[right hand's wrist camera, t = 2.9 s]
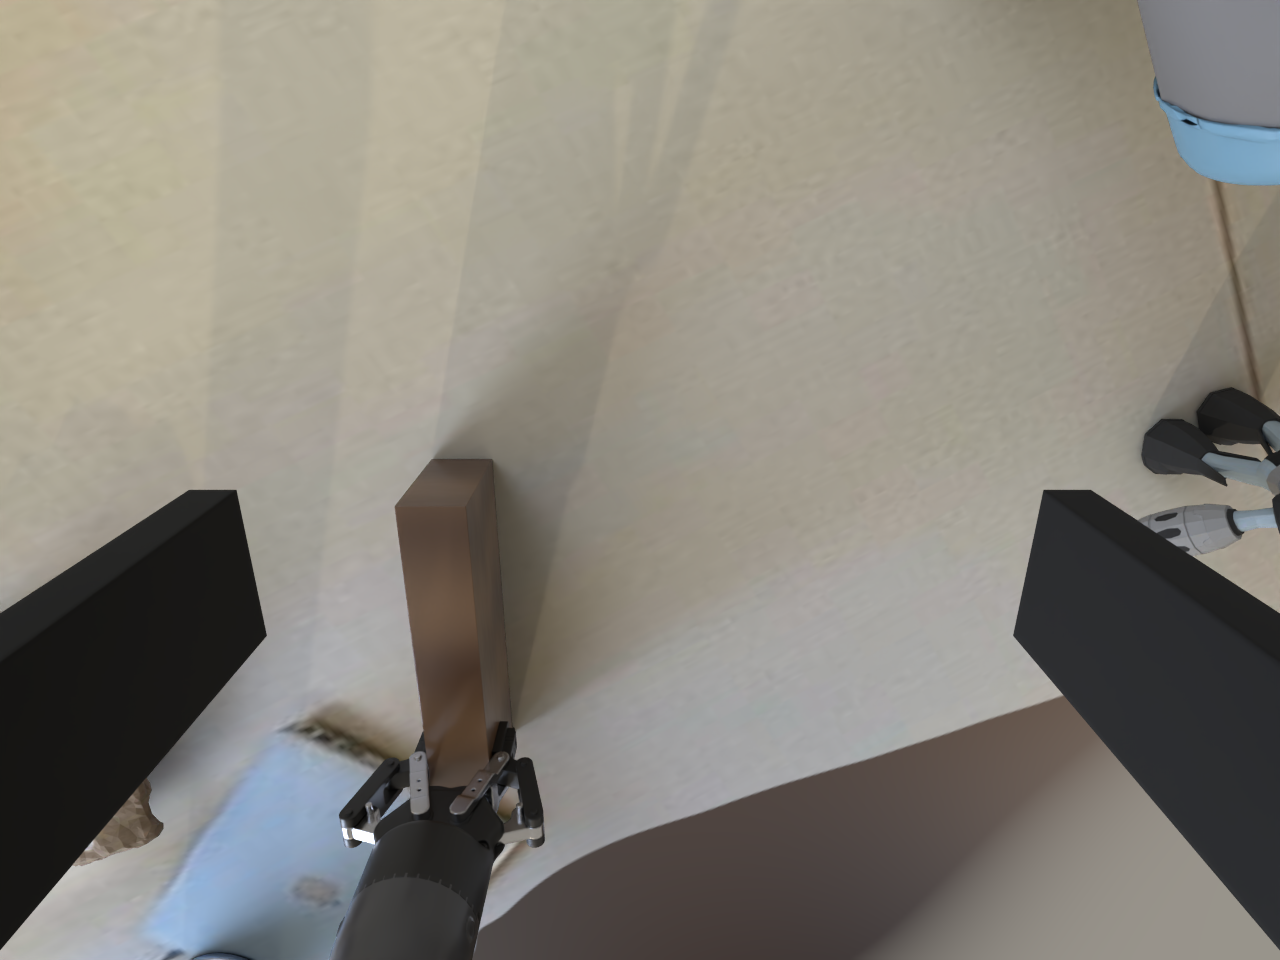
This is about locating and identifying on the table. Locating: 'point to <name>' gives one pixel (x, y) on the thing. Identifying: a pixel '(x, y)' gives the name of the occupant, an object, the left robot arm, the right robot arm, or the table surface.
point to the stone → (125, 828)
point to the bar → (455, 614)
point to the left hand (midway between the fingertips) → (473, 730)
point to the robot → (1215, 469)
